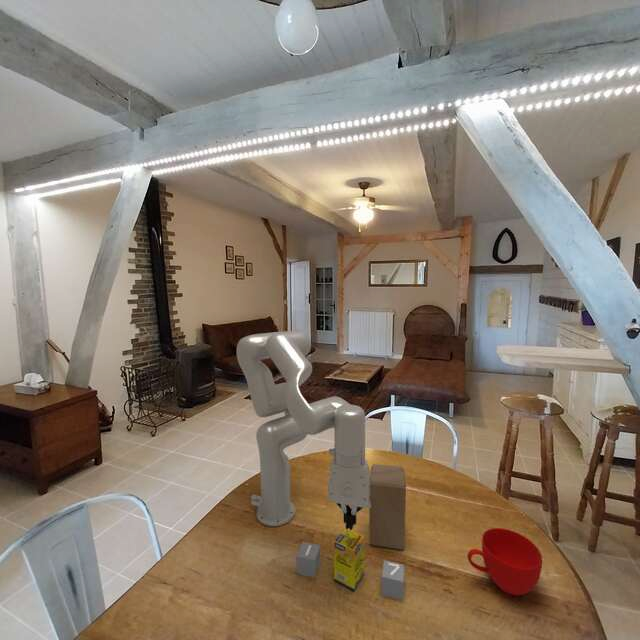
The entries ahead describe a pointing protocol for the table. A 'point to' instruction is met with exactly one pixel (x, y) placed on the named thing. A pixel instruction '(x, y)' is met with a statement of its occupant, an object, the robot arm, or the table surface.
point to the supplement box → (349, 558)
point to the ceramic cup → (509, 560)
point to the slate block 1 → (308, 559)
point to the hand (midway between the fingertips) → (350, 525)
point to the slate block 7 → (393, 580)
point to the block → (387, 506)
